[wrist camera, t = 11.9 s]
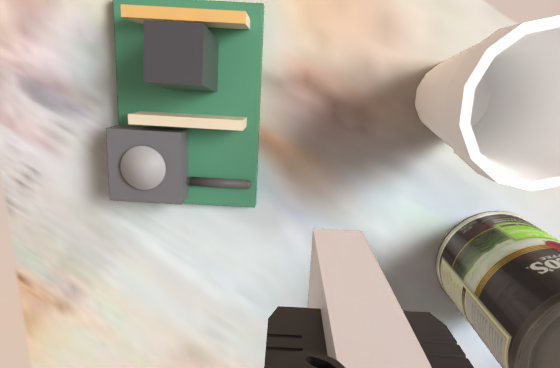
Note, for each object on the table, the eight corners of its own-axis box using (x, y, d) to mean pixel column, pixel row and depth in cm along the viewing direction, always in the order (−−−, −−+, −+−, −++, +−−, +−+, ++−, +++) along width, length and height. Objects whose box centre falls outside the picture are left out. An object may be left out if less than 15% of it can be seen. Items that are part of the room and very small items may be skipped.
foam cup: (466, 170, 36) (563, 217, 23) (377, 122, 35) (427, 145, 22) (528, 72, 34) (673, 66, 21) (435, 19, 33) (528, -20, 20)
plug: (217, 92, 33) (202, 85, 27) (169, 89, 33) (143, 81, 27) (218, 41, 32) (203, 22, 26) (169, 38, 32) (143, 19, 26)
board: (256, 203, 37) (251, 220, 32) (127, 195, 37) (104, 211, 32) (264, 6, 33) (260, -6, 28) (119, -2, 33) (91, -16, 28)
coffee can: (451, 201, 37) (549, 273, 23) (559, 220, 37) (719, 302, 23) (422, 300, 39) (493, 416, 25) (523, 317, 39) (648, 442, 26)
